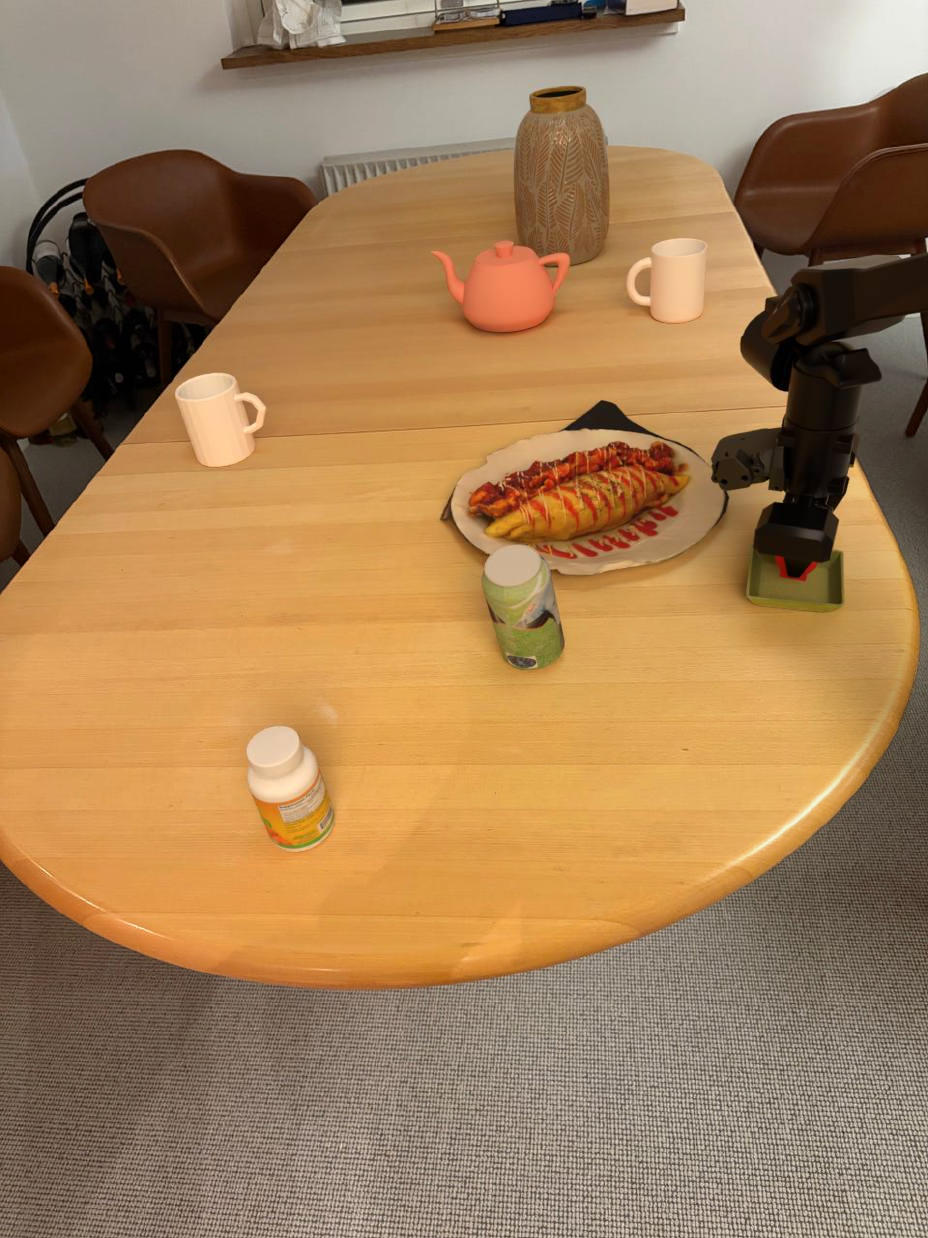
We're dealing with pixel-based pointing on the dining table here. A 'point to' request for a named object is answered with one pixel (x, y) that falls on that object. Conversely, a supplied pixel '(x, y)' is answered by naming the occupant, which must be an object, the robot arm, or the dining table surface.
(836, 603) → the green shallow tray
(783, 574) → the strawberry
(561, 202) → the vase
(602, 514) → the omelette plate
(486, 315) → the teapot
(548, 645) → the beverage can
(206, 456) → the mug
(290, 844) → the supplement bottle
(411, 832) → the dining table surface
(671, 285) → the mug
